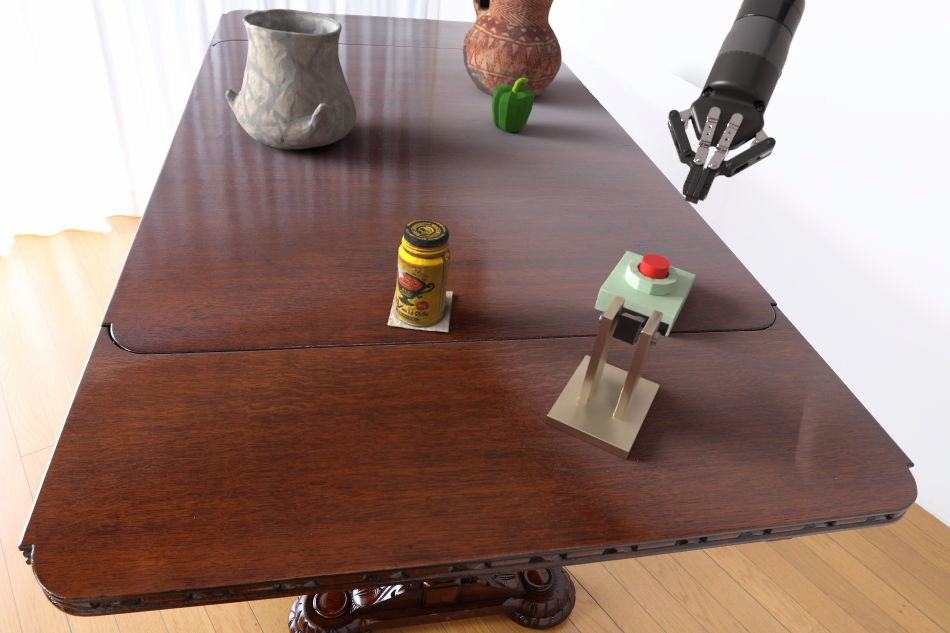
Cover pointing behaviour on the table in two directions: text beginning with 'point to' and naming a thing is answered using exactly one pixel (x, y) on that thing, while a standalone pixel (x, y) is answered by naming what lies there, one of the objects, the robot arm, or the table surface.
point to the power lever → (634, 326)
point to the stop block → (646, 290)
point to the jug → (512, 45)
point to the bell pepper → (512, 105)
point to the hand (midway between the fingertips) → (691, 200)
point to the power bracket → (608, 390)
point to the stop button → (654, 266)
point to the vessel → (293, 81)
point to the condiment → (422, 278)
